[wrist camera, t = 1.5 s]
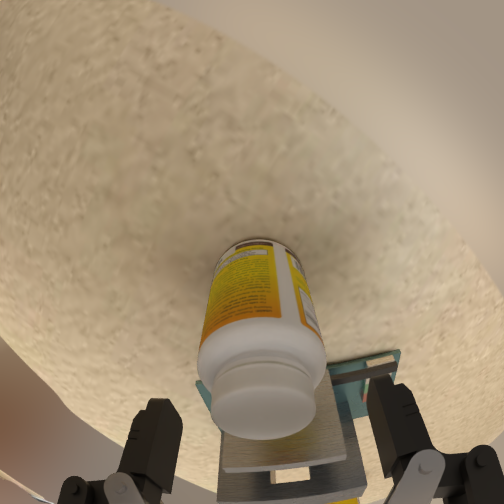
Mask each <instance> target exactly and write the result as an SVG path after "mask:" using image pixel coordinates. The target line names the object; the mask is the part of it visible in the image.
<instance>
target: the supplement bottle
mask: <svg viewBox="0 0 504 504" xmlns="http://www.w3.org/2000/svg"><path fill="white" fill-rule="evenodd" d="M326 363H327V359H326V352H325V347H324V344H323V340H322V336H321V333H320V329H319V325H318V322H317V318H316V314H315V310H314V306H313V303H312V299H311V296H310V292H309V289H308V285H307V282H306V279H305V275H304V272H303V269H302V266H301V264H300V262H299V260H298V258H297V257H296V256H295V255H294V254H293V253H292V252H291V251H290V250H289V249H288V248H286V247H285V246H283V245H281V244H279V243H277V242H273V241H269V240H262V239H259V240H249V241H245V242H242V243H239V244H237V245H235V246H233V247H232V248H230V249H229V250H228V251H227V252H226V253H224V255H223V256H222V257H221V258H220V260H219V261H218V263H217V265H216V268H215V271H214V275H213V280H212V285H211V290H210V295H209V300H208V305H207V310H206V315H205V321H204V326H203V331H202V337H201V342H200V347H199V353H198V361H197V369H198V374H199V377H200V379H201V381H202V383H203V385H204V386H205V387H206V389H207V390H208V391H209V392H210V393H211V396H212V402H211V417H212V420H213V421H214V423H215V424H216V425H217V426H218V427H219V428H220V429H222V430H223V431H225V432H227V433H229V434H231V435H234V436H237V437H241V438H245V439H253V440H269V439H277V438H282V437H286V436H289V435H292V434H294V433H296V432H298V431H300V430H302V429H303V428H305V427H306V426H307V425H308V424H310V423H311V421H312V420H313V418H314V416H315V413H316V404H315V398H314V389H315V388H316V387H317V386H318V385H319V383H320V382H321V380H322V378H323V376H324V374H325V370H326Z"/></svg>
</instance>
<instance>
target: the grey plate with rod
mask: <svg viewBox="0 0 504 504" xmlns="http://www.w3.org/2000/svg"><path fill="white" fill-rule="evenodd" d="M397 367H398V364H397V362H396V361H393V362H389V363H385V364H381V365H377V366H373V367H369V368H365V369H360V370H356V371H351V372H346V373H341V374H336V375H331V376H330V375H329V371H328V369H326V370H325V374H324V376H323V378H322V380H321V382H320V383H319V385H318V386H317V387H316V388H315V389H314V398H315V404H316V413H315V416H314V418H313V420H312V421H311V423H310V424H308V425H307V426H306V427H305V428H303V429H302V430H300V431H298V432H296V433H294V434H292V435H289V436H286V437H282V438H277V439H269V440H253V439H245V438H241V437H237V436H234V435H231V434H229V433H227V432H225V433H224V447H223V462H222V469H223V470H224V471H225V472H226V473H241V472H260V471H273V470H284V469H292V468H300V467H308V466H314V465H320V464H326V463H332V462H337V461H342V460H346V456H347V453H346V448H345V443H344V438H343V433H342V428H341V424H340V419H339V414H338V410H337V405H336V401H335V397H334V392H333V388H332V386H336V385H341V384H346V383H351V382H355V381H360V380H364V379H368V378H371V377H375V376H379V375H383V374H387V373H392V372H396V371H397Z"/></svg>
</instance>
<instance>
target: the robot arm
mask: <svg viewBox="0 0 504 504" xmlns="http://www.w3.org/2000/svg"><path fill="white" fill-rule="evenodd" d="M366 405H367V411H368V415H369V419H370V422H371V426H372V430H373V434H374V437H375V441H376V445H377V449H378V453H379V457H380V461H381V465H382V469H383V474H384V478H385V479H386V478H389V477H392V478H393V482H394V485H393V487H392V489H391V491H390V493H389V495H388V496H387V498H386V500H385V502H384V504H430V503H431V500H432V498H443V503H444V504H504V475H503V472H502V469H501V466H500V463H499V460H498V457H497V454H496V452H495V450H494V449H493V448H492V447H490V446H488V445H479V446H476V447H474V448H473V449H472V450H471V451H470V452H468V453H458V454H445V453H442V452H440V451H438V450H437V449H436V448H435V447H434V446H433V445H432V442H431V440H430V437H429V434H428V432H427V429H426V426H425V424H424V421H423V419H422V416H421V413H420V412H419V408H418V406H417V404H416V401H415V399H414V396H413V394H412V391H411V390H409V389H408V388H407V387H406V386H405V385H404V384H403V383H401V384H397V385H394V383H393V381H392V378H391V376H390V374H388V373H387V374H383V375H379V376H375V377H371V378H370V380H369V386H368V392H367V398H366ZM130 430H131V431H130V432H129V435H128V440H127V441H126V445H125V448H124V451H123V455H122V458H121V461H120V465H119V468H118V470H117V472H116V473H113V474H111V475H110V476H109V477H108V478H107V479H106V480H99V481H87V482H86V481H85V480H84V479H82V478H81V477H78V476H71V477H69V478H67V479H66V480H65V481H64V483H63V485H62V488H61V492H60V496H59V499H58V503H57V504H164V503H163V502H162V500H161V496H162V493H166V494H171V491H172V485H173V479H174V474H175V468H176V463H177V457H178V452H179V446H180V441H181V436H182V430H183V423H182V419H181V417H180V415H179V414H178V412H177V411H176V409H175V408H174V406H173V404H172V403H171V401H170V400H169V399H163V398H151V399H150V400H149V401H148V404H147V407H146V410H140V411H139V413H138V414H137V415H136V416H135V418H134V419H133V422H132V425H131V428H130Z"/></svg>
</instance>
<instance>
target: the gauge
mask: <svg viewBox="0 0 504 504" xmlns="http://www.w3.org/2000/svg"><path fill="white" fill-rule="evenodd" d="M400 354H401V352H400V350H395V351H391V352H387V353H383V354H379V355H375V356H371V357H366V358H362V359H357V360H353V361H348V362H343V363H338V364H333V365H327V366H326V369H328V371H329V375H330V376H331V375H336V374H341V373H346V372H351V371H356V370H360V369H365V368H369V367H373V366H377V365H381V364H385V363H389V362H393V361H396V362H397V364H398V363H399V359H400ZM397 368H398V367H397ZM396 372H397V371H396ZM396 372H392V373H388V374H390V376H391V378H392V381H393V383H394V380H395V376H396ZM369 380H370V378H368V379H364V380H360V381H355V382H351V383H346V384H341V385H336V386H332V388H333V392H334V397H335V401H336V405H337V410H338V414H339V419H340V424H341V428H342V433H343V438H344V443H345V448H346V453H347V456H346V460H342V461H337V462H332V463H326V464H320V465H314V466H309V474H310V480H304V481H297V482H288V483H278V484H276V476H275V470H273V471H260V472H241V473H226V472H225V471H224V470H223V469H222V462H223V447H224V433H225V431H223V430H222V429H220V428H219V427H218V428H219V429H220V431H221V446H220V459H219V473H218V488H217V502H218V503H219V504H327V503H333V502H338V501H343V500H348V499H352V498H357V497H361V496H362V495H363V493H364V491H365V489H366V487H367V480H366V475H365V471H364V466H363V461H362V457H361V453H360V448H359V444H358V440H357V435H356V431H355V427H354V423H353V419H355V418H359V417H364V416H368V411H367V405H366V398H367V392H368V386H369ZM195 385H196V387H197V389H198V391H199V393H200V394H201V396H202V398H203V400H204V402H205V404H206V406H207V408H208V410H209V411H210V413H211V402H212V396H211V393H210V392H209V391H208V390H207V389H206V387H205V386H204V385H203V383H202V381H196V384H195Z"/></svg>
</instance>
